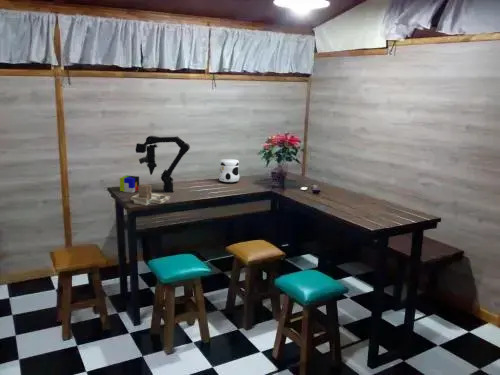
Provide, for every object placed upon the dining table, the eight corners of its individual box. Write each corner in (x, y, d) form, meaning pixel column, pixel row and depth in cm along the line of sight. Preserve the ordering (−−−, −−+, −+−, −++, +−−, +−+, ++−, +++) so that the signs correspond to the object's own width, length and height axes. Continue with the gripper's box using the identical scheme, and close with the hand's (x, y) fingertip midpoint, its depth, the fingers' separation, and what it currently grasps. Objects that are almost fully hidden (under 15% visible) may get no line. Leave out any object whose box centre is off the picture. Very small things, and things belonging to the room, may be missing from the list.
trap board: (143, 194, 307) (143, 189, 307) (172, 197, 301) (172, 192, 300) (125, 202, 285) (125, 196, 285) (155, 206, 279) (155, 200, 278)
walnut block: (143, 197, 291) (143, 184, 289) (151, 198, 290) (151, 185, 288) (138, 199, 286) (138, 186, 284) (146, 200, 284) (146, 187, 282)
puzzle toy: (133, 192, 312) (132, 179, 310) (120, 191, 314) (119, 178, 311) (139, 189, 321) (139, 176, 319) (126, 188, 323) (126, 175, 321)
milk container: (214, 181, 360) (214, 159, 356) (230, 178, 372) (230, 158, 368) (227, 185, 348) (228, 162, 344) (243, 182, 359) (244, 161, 355)
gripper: (138, 151, 319) (138, 172, 323) (140, 155, 302) (140, 177, 306) (153, 151, 323) (153, 172, 326) (156, 155, 306) (156, 177, 309)
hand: (151, 174), depth 317 cm, fingers closed
